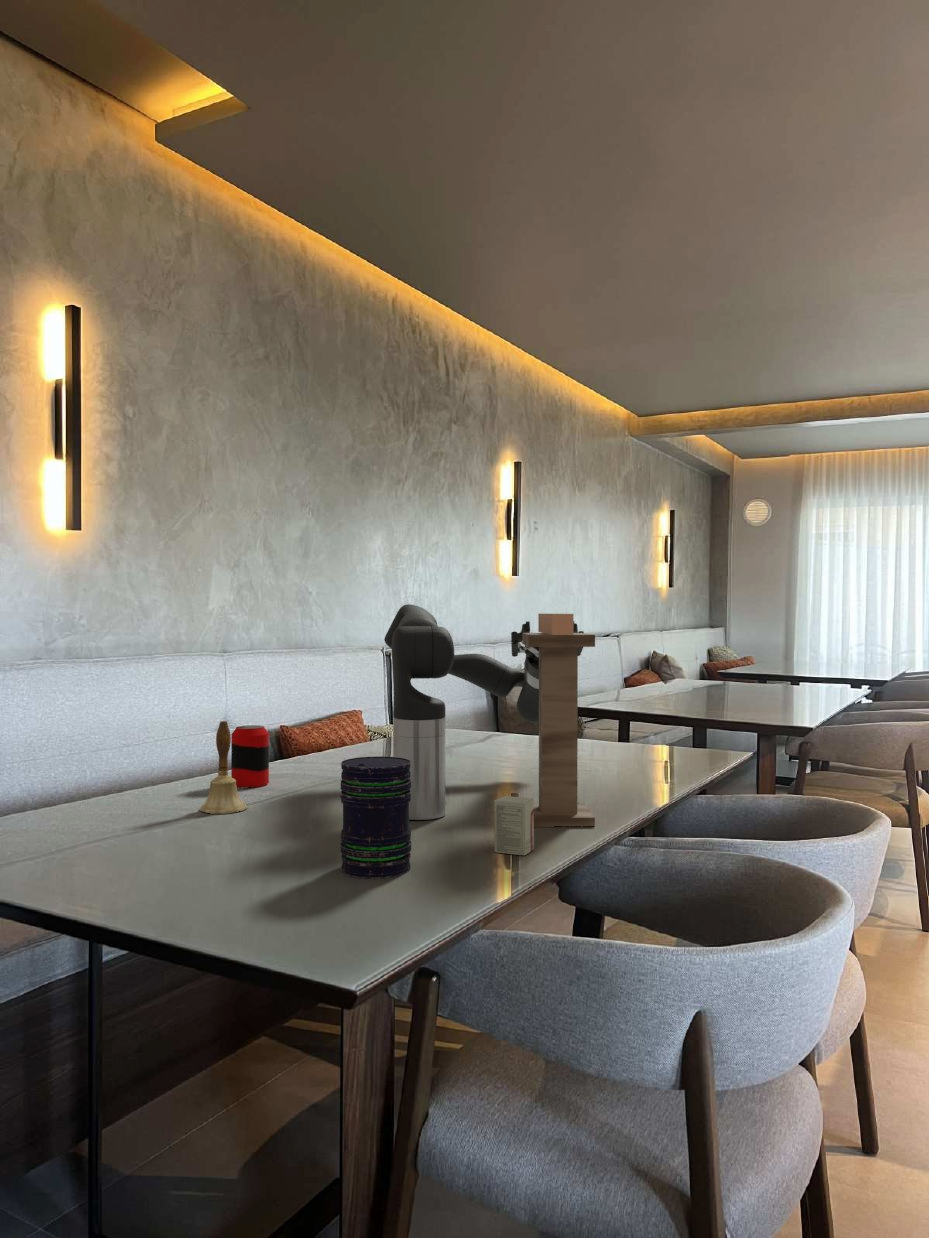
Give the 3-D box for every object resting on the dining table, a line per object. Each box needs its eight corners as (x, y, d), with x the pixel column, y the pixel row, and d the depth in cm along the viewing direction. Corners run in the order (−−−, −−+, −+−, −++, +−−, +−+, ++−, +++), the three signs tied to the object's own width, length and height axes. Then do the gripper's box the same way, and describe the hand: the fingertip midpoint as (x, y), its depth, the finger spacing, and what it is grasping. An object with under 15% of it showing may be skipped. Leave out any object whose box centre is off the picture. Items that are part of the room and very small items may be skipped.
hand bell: (196, 807, 172) (195, 720, 172) (241, 803, 176) (241, 718, 175) (203, 816, 165) (203, 725, 164) (251, 811, 168) (251, 722, 168)
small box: (535, 849, 141) (535, 797, 141) (525, 856, 138) (525, 802, 137) (503, 846, 143) (503, 794, 143) (493, 852, 140) (493, 799, 139)
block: (573, 634, 155) (573, 613, 155) (552, 634, 155) (552, 613, 155) (556, 631, 179) (556, 613, 179) (538, 631, 179) (538, 613, 179)
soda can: (230, 782, 197) (230, 725, 197) (267, 780, 199) (267, 724, 199) (232, 789, 190) (232, 729, 189) (270, 787, 192) (270, 728, 192)
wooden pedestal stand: (594, 826, 157) (595, 634, 156) (528, 826, 156) (529, 634, 156) (582, 808, 171) (583, 632, 170) (522, 809, 170) (522, 632, 170)
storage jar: (376, 855, 138) (376, 754, 138) (426, 867, 132) (426, 760, 131) (325, 870, 130) (325, 762, 130) (376, 883, 124) (375, 770, 124)
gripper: (579, 680, 191) (589, 642, 177) (509, 681, 191) (513, 642, 177) (576, 648, 195) (586, 608, 181) (507, 648, 194) (512, 608, 180)
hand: (550, 625), depth 179 cm, fingers open, 8 cm apart
